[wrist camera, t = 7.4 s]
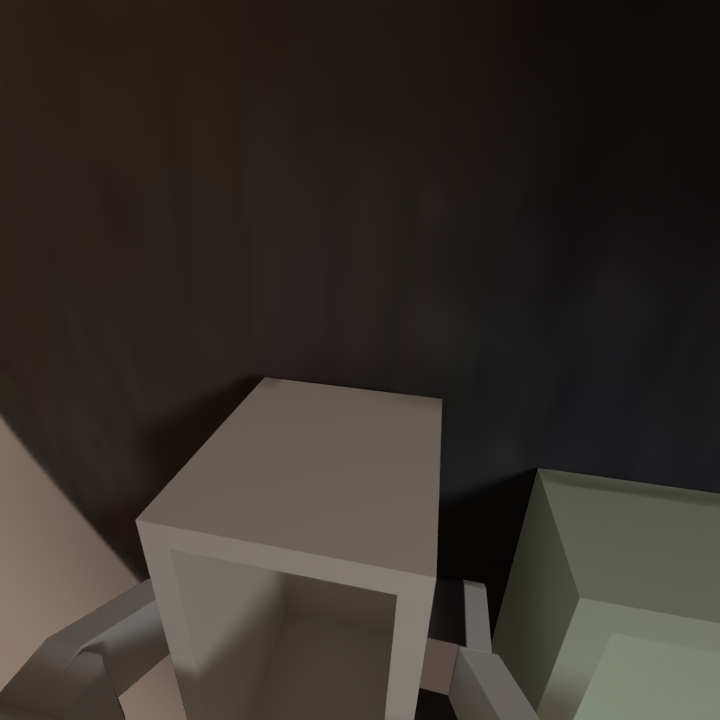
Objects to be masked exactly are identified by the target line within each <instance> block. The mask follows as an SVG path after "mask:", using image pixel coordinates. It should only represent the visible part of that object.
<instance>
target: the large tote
mask: <svg viewBox="0 0 720 720" xmlns="http://www.w3.org/2000/svg"><path fill="white" fill-rule="evenodd" d="M491 649H492V653H493V654H497V655H499V656H500V658H501V659H502V661H503V663H504V664H505V666H506V667H507V669H508V670H509V672H510V674H511V675H512V677H513V678H514V680H515V681H516V683H517V684H518V686H519V688H520V689H521V691H522V692H523V694H524V695H525V697H526V699H527V700H528V702H529V703H530V705H531V706H532V708H533V709H534V711H535V713H536V714H537V716H538V717H539V719H540V720H720V494H719V493H712V492H705V491H698V490H690V489H683V488H676V487H669V486H662V485H655V484H648V483H641V482H634V481H627V480H620V479H613V478H606V477H599V476H591V475H584V474H577V473H570V472H563V471H556V470H549V469H542V468H538V469H537V473H536V476H535V480H534V484H533V488H532V491H531V495H530V499H529V503H528V507H527V510H526V514H525V518H524V522H523V525H522V529H521V533H520V537H519V541H518V544H517V548H516V552H515V556H514V559H513V563H512V567H511V571H510V574H509V578H508V582H507V586H506V590H505V593H504V597H503V601H502V605H501V608H500V612H499V616H498V620H497V623H496V627H495V631H494V635H493V639H492V642H491Z"/></svg>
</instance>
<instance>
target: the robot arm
mask: <svg viewBox="0 0 720 720" xmlns="http://www.w3.org/2000/svg"><path fill="white" fill-rule="evenodd" d="M169 653H170V651H169V647H168V643H167V639H166V636H165V632H164V628H163V624H162V620H161V616H160V613H159V609H158V605H157V601H156V597H155V593H154V590H153V586H152V582H151V579H147V580H145V581H144V582H142V583H140V584H139V585H137V586H135V587H133V588H132V589H130V590H128V591H127V592H125V593H124V594H122V595H120V596H118V597H117V598H115V599H113V600H112V601H110V602H108V603H106V604H105V605H103V606H101V607H100V608H98V609H96V610H95V611H93V612H91V613H90V614H88V615H86V616H85V617H83V618H81V619H80V620H78V621H76V622H74V623H73V624H71V625H69V626H68V627H66V628H64V629H63V630H61V631H59V632H58V633H56V634H54V635H52V636H51V637H49V638H47V639H46V640H45V642H44V643H43V644H42V645H41V646H40V647H39V648H38V649H37V651H36V652H35V653H34V654H33V655H32V656H31V658H30V659H29V660H28V661H27V662H26V663H25V665H24V666H23V667H22V668H21V669H20V670H19V671H18V672H17V674H16V675H15V676H14V677H13V678H12V679H11V681H10V682H9V683H8V684H7V685H6V686H5V687H4V689H3V690H2V691H1V692H0V720H125V715H124V712H123V710H122V707H121V705H120V702H119V699H118V697H119V696H120V695H121V694H122V693H124V692H125V691H126V690H127V689H128V688H130V686H132V685H133V684H134V683H135V682H137V681H138V680H139V679H140V678H141V677H142V676H143V675H145V674H146V673H147V672H148V671H149V670H150V669H152V668H153V667H154V666H155V665H156V664H158V663H159V662H160V661H161V660H162V659H163V658H165V657H166V656H167V655H168V654H169ZM419 688H423V689H427V690H430V691H434V692H438V693H441V694H445V695H449V700H450V702H451V705H452V707H453V709H454V711H455V714H456V716H457V718H458V720H540V719H539V717H538V716H537V714H536V713H535V711H534V709H533V708H532V706H531V705H530V703H529V702H528V700H527V699H526V697H525V695H524V694H523V692H522V691H521V689H520V688H519V686H518V684H517V683H516V681H515V680H514V678H513V677H512V675H511V674H510V672H509V670H508V669H507V667H506V666H505V664H504V663H503V661H502V659H501V658H500V656H499V655H497V654H493V653H492V649H491V638H490V627H489V616H488V605H487V594H486V587H485V585H484V584H483V583H478V582H472V581H467V580H462V579H459V578H453V577H448V576H442V575H436V583H435V590H434V596H433V603H432V609H431V615H430V622H429V628H428V634H427V641H426V647H425V653H424V660H423V666H422V672H421V679H420V685H419Z"/></svg>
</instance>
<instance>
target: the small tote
mask: <svg viewBox="0 0 720 720" xmlns="http://www.w3.org/2000/svg"><path fill="white" fill-rule="evenodd" d="M441 417H442V399H438V398H430V397H422V396H413V395H405V394H397V393H389V392H381V391H373V390H365V389H356V388H348V387H340V386H332V385H324V384H316V383H307V382H299V381H291V380H283V379H275V378H267V377H264V379H263V380H262V381H261V382H260V383H259V384H258V385H257V386H256V387H255V388H254V390H253V391H252V392H251V393H250V394H249V395H248V396H247V397H246V398H245V400H244V401H243V402H242V403H241V404H240V405H239V406H238V407H237V408H236V409H235V411H234V412H233V413H232V414H231V415H230V416H229V417H228V418H227V419H226V420H225V422H224V423H223V424H222V425H221V426H220V427H219V428H218V429H217V430H216V432H215V433H214V434H213V435H212V436H211V437H210V438H209V439H208V440H207V441H206V443H205V444H204V445H203V446H202V447H201V448H200V449H199V450H198V451H197V452H196V454H195V455H194V456H193V457H192V458H191V459H190V460H189V461H188V462H187V463H186V465H185V466H184V467H183V468H182V469H181V470H180V471H179V472H178V473H177V475H176V476H175V477H174V478H173V479H172V480H171V481H170V482H169V483H168V484H167V486H166V487H165V488H164V489H163V490H162V491H161V492H160V493H159V494H158V495H157V497H156V498H155V499H154V500H153V501H152V502H151V503H150V504H149V505H148V506H147V508H146V509H145V510H144V511H143V512H142V513H141V514H140V515H139V516H138V518H137V519H136V524H137V528H138V532H139V536H140V540H141V543H142V547H143V551H144V555H145V559H146V563H147V567H148V570H149V574H150V578H151V582H152V586H153V590H154V593H155V597H156V601H157V605H158V609H159V613H160V616H161V620H162V624H163V628H164V632H165V636H166V639H167V643H168V647H169V651H170V655H171V659H172V663H173V666H174V670H175V674H176V678H177V681H178V685H179V689H180V693H181V697H182V701H183V705H184V709H185V712H186V716H187V720H414V717H415V710H416V704H417V698H418V691H419V685H420V679H421V672H422V666H423V660H424V653H425V647H426V641H427V634H428V628H429V622H430V615H431V609H432V603H433V596H434V590H435V583H436V574H437V543H438V512H439V480H440V449H441Z"/></svg>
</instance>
